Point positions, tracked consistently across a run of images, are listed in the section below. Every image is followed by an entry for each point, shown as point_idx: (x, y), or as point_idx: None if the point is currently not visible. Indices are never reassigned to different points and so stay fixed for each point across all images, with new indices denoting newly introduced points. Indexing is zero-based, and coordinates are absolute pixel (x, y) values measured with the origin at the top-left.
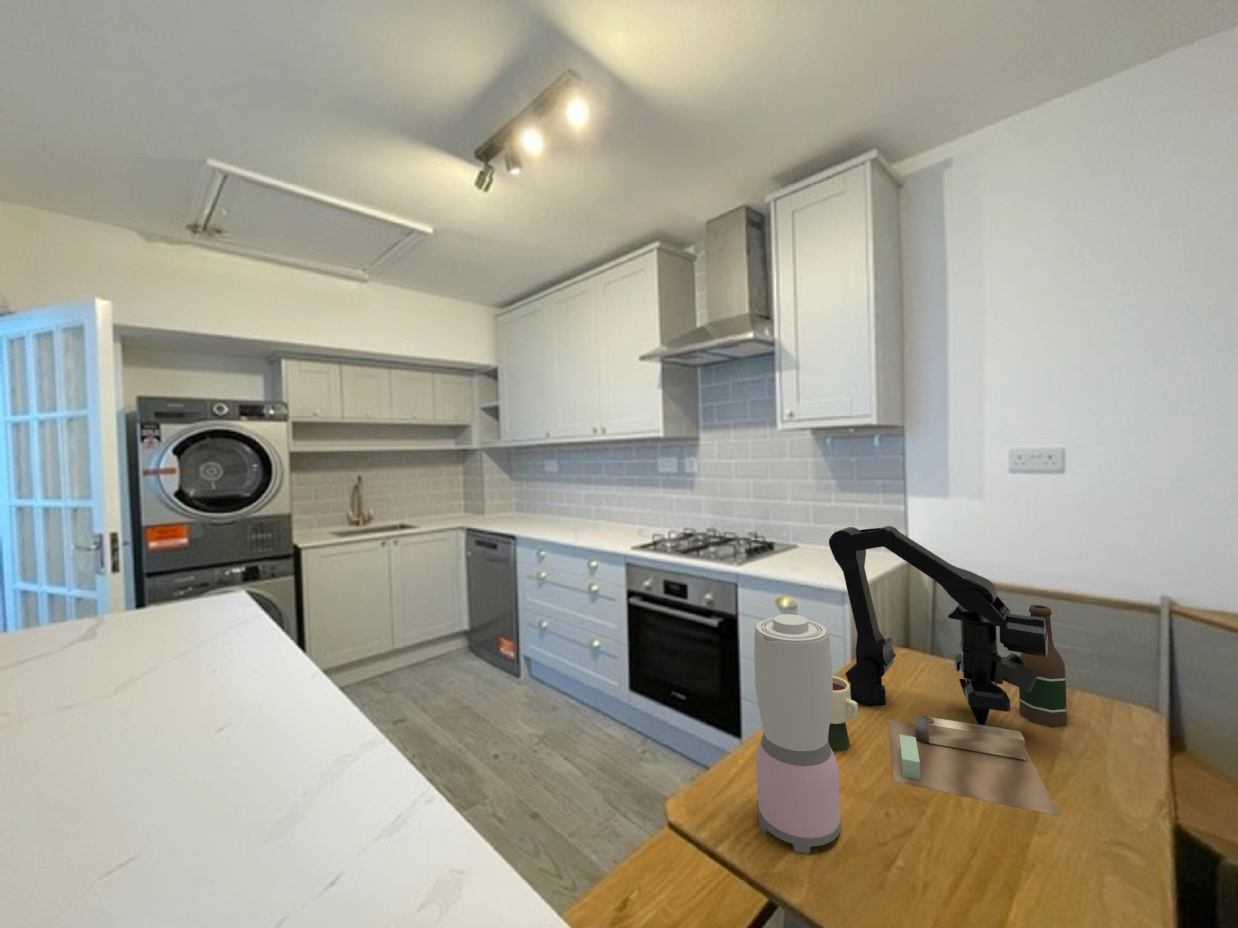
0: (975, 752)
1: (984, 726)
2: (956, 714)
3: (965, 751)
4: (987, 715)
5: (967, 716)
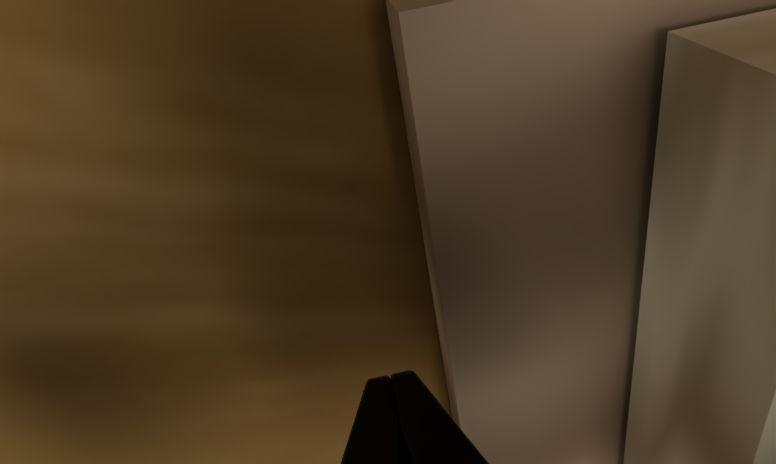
0: None
1: (772, 436)
2: (44, 453)
3: None
4: (481, 457)
5: (9, 401)
